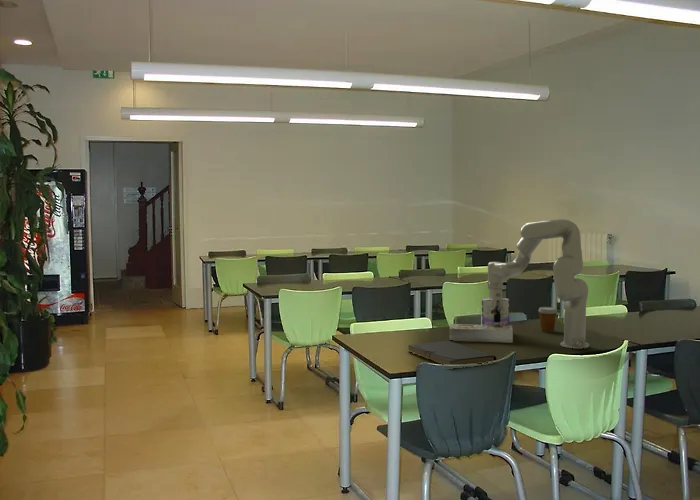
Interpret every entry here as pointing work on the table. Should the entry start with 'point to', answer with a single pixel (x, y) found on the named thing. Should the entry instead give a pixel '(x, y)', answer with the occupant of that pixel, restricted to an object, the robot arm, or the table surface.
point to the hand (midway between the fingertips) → (495, 320)
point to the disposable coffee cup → (547, 318)
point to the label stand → (481, 333)
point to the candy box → (488, 312)
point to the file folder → (451, 352)
